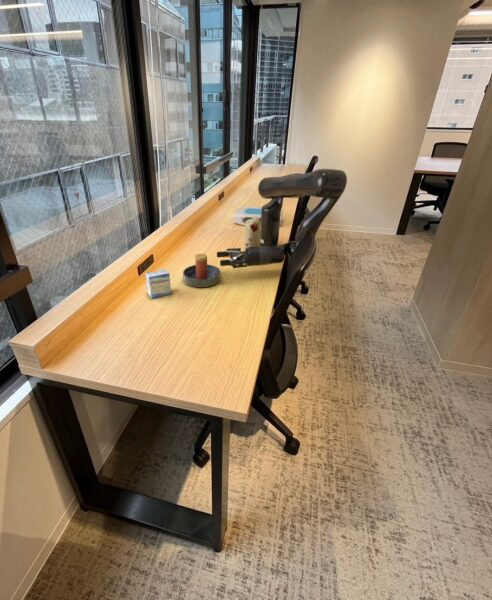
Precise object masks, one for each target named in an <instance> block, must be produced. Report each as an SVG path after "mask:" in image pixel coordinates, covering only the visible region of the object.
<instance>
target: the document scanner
mask: <svg viewBox="0 0 492 600" xmlns="http://www.w3.org/2000/svg"><path fill="white" fill-rule="evenodd" d="M261 208H262V206H243V207H237V208H236V210H235V211H234V214H233V216H232V223H234V224H238V225H241V226H245V225H246V220H247V219H251V218H254V217H257V218H259V219H261ZM283 214H284V210H283V209H281V216H280V226H282V223H283V216H284V215H283ZM260 226H261V222H260Z"/></svg>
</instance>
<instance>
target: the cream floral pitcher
mask: <svg viewBox="0 0 492 600" xmlns="http://www.w3.org/2000/svg"><path fill="white" fill-rule="evenodd" d="M245 222H246V225H244V226H245V227H244V236H243V237H244V238H243V246H244V247H243V249H244V251H245V250H246V248H247V247H259V246H260V223H261V218H257V217H254V218H247V219H245Z"/></svg>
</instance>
